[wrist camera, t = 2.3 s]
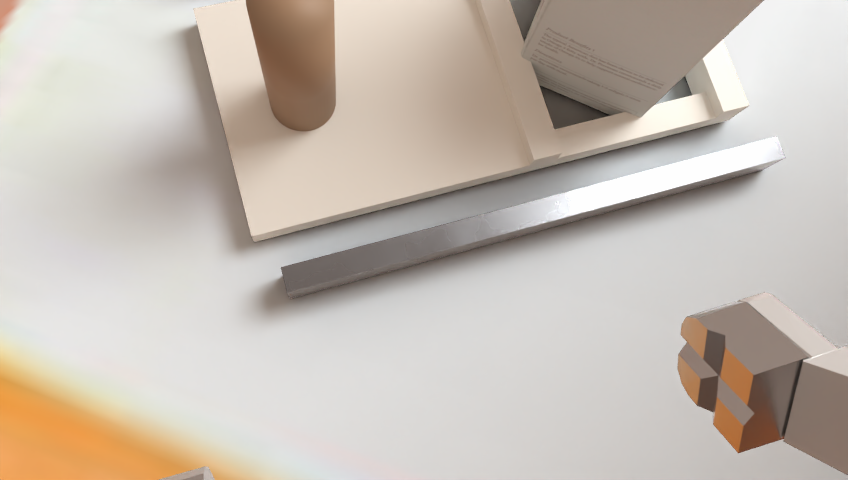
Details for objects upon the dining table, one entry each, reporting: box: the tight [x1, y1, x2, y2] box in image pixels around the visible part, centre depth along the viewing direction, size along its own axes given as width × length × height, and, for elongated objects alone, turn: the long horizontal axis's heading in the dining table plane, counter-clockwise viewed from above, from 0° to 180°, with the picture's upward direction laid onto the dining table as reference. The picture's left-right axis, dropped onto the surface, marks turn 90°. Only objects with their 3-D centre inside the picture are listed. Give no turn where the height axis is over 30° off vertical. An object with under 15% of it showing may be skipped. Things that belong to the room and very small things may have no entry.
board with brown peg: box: [194, 0, 749, 242], centre depth 33 cm, size 26×12×10 cm, turn 107°
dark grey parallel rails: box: [281, 136, 786, 299], centre depth 37 cm, size 26×18×2 cm
